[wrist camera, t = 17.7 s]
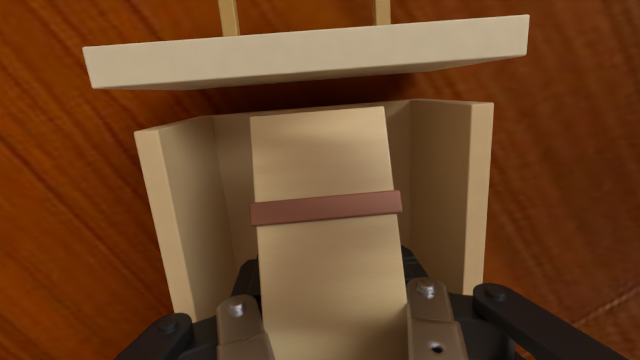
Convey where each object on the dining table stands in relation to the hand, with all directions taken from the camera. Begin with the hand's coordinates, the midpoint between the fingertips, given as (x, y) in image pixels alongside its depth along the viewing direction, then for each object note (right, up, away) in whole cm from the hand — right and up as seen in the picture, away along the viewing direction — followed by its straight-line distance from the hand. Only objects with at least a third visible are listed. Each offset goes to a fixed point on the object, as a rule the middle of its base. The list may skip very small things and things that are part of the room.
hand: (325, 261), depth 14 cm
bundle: (+1, -6, -4) cm, 7 cm away
